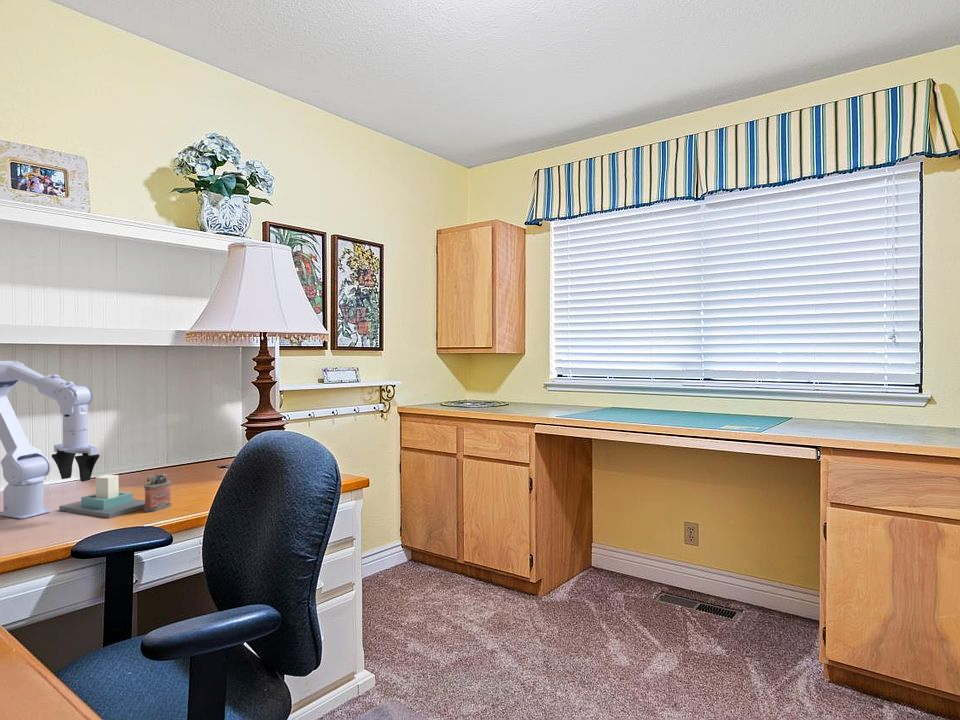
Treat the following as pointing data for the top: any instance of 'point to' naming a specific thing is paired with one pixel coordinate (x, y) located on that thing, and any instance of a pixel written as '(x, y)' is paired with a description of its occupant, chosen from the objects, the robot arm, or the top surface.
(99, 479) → the cream block
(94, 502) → the organizer
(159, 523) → the top surface
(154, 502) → the lighter
